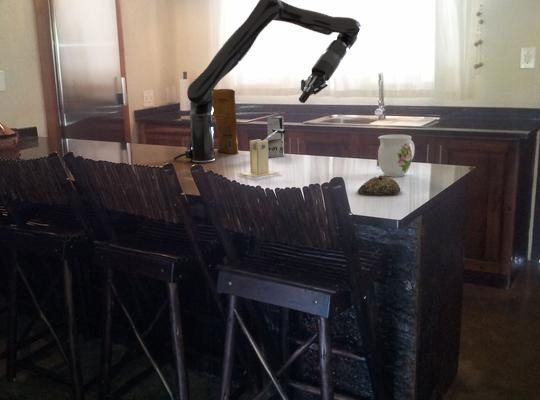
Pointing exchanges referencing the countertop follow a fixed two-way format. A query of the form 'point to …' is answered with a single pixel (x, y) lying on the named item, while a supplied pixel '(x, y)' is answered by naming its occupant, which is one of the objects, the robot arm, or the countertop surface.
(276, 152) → the coffee box
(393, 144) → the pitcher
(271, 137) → the lever
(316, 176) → the countertop surface
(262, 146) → the bracket
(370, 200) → the countertop surface
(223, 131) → the pancake mix bag
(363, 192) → the mossy brown rock
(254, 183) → the countertop surface
